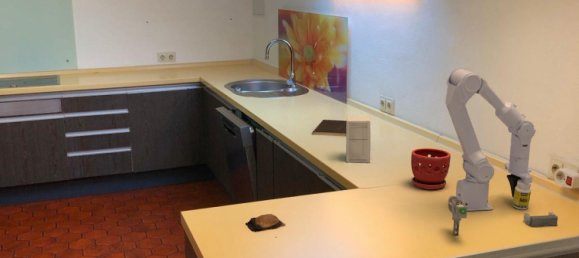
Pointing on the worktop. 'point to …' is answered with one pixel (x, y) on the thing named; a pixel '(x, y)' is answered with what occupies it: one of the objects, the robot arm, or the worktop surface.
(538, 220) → the jig
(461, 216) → the mechanical component
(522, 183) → the supplement bottle
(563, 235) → the worktop surface
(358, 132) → the beige miniature cabinet
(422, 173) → the plant pot
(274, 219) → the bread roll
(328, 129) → the hardcover book
